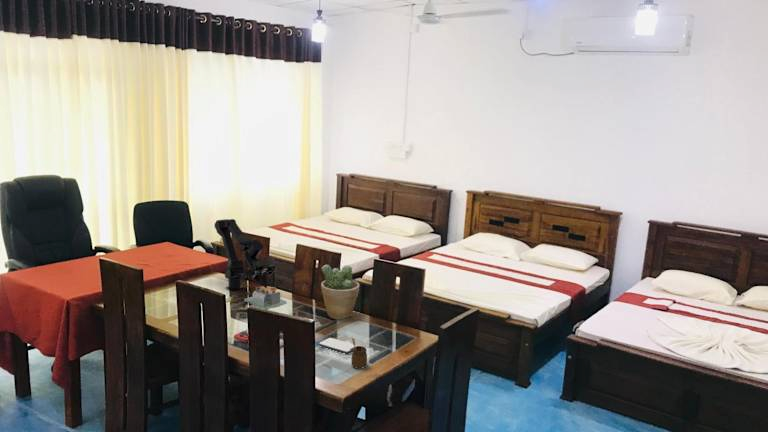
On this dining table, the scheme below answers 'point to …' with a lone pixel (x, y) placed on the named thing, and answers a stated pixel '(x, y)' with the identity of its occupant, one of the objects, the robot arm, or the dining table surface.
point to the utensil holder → (359, 355)
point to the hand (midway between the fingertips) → (266, 286)
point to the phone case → (337, 345)
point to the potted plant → (339, 291)
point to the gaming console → (242, 336)
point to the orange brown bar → (267, 288)
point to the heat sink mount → (265, 299)
